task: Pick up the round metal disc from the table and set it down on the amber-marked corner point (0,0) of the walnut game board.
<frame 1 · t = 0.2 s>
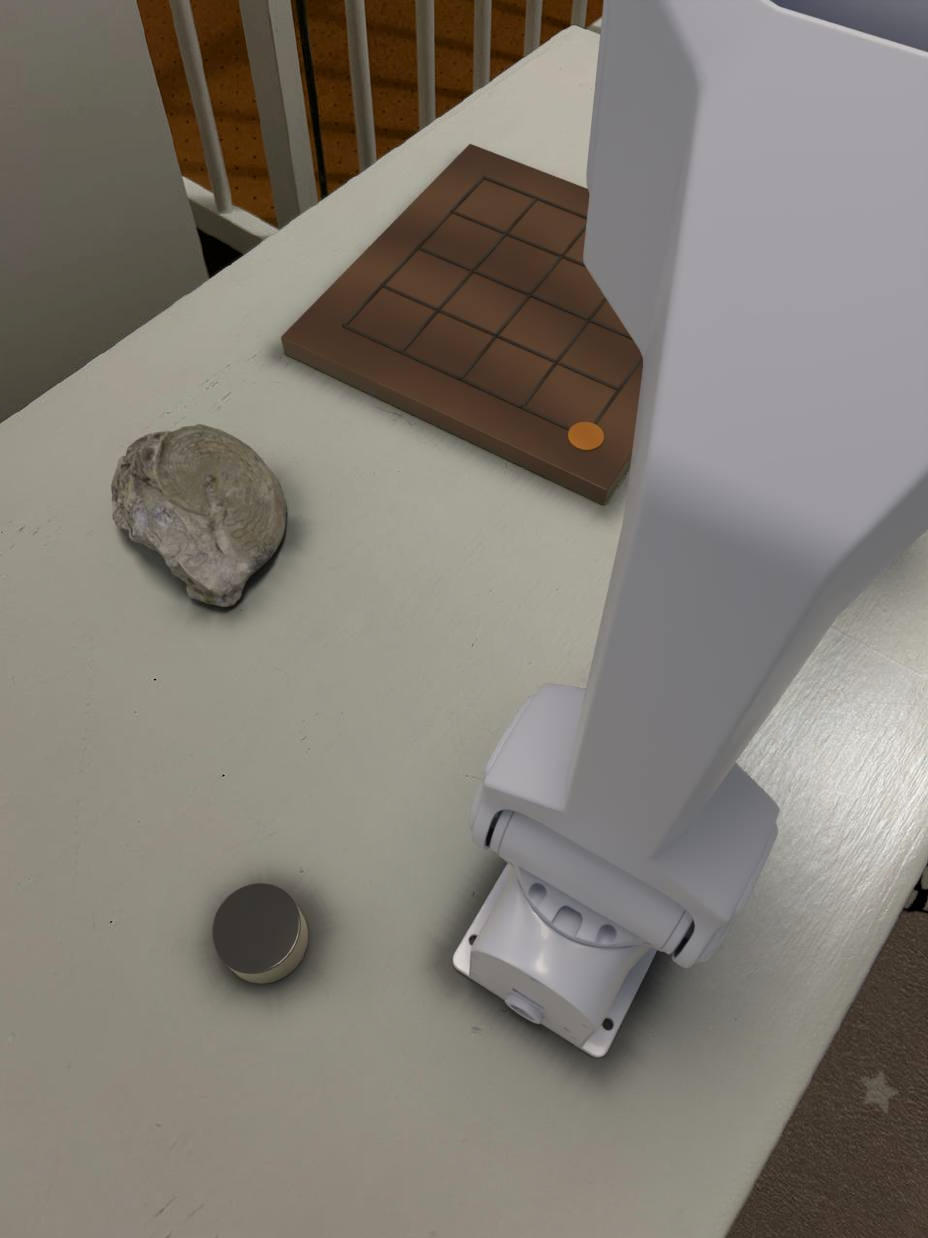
hand: (847, 397, 50), 10 cm above the dresser, tool pointing down, fingers open, 7 cm apart
fossilized seashell: (197, 527, 58), on the dresser
board: (528, 312, 67), on the dresser
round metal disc: (266, 939, 46), on the dresser
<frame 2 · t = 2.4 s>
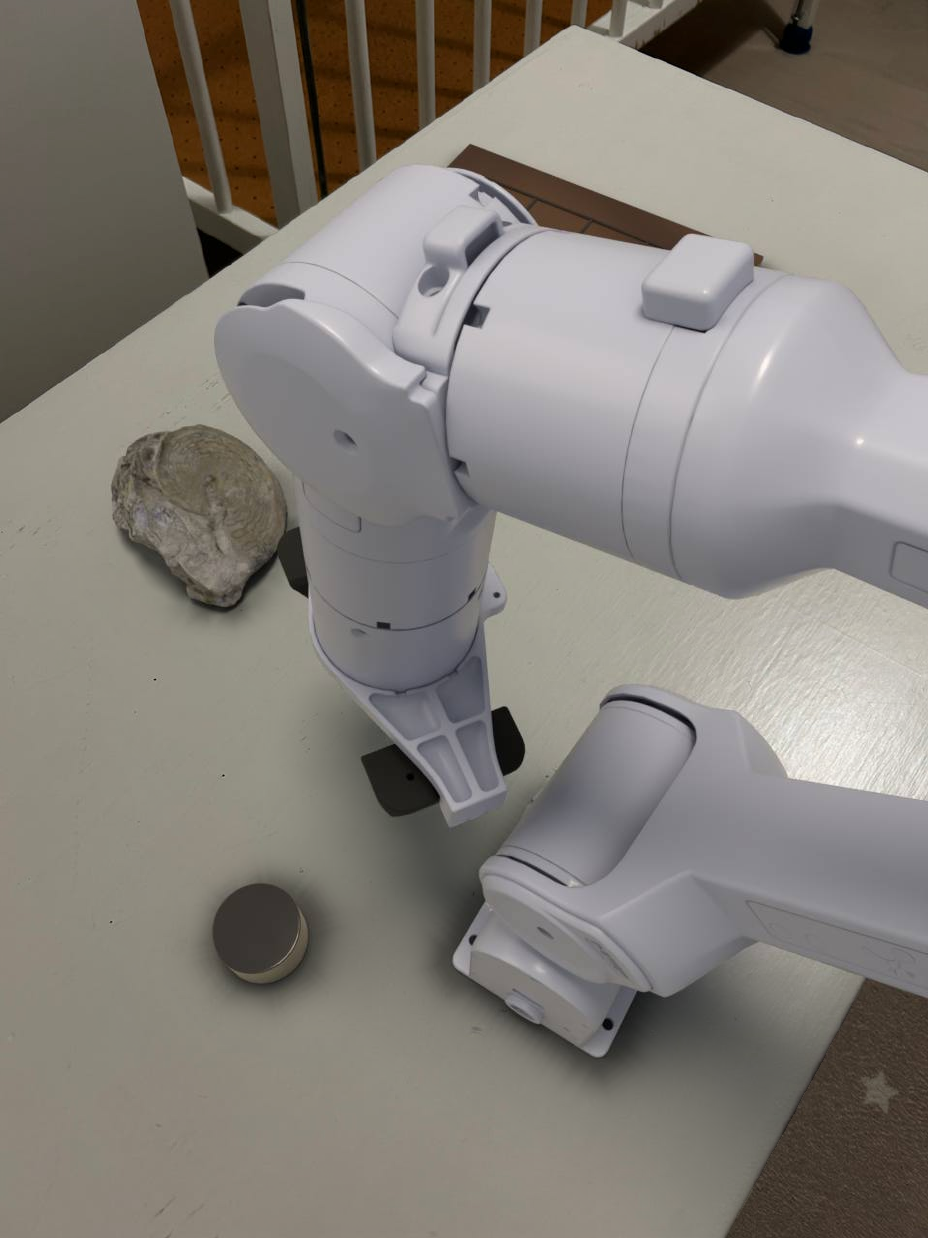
hand: (394, 712, 42), 9 cm above the dresser, tool pointing down, fingers open, 7 cm apart
nothing on the dresser moved.
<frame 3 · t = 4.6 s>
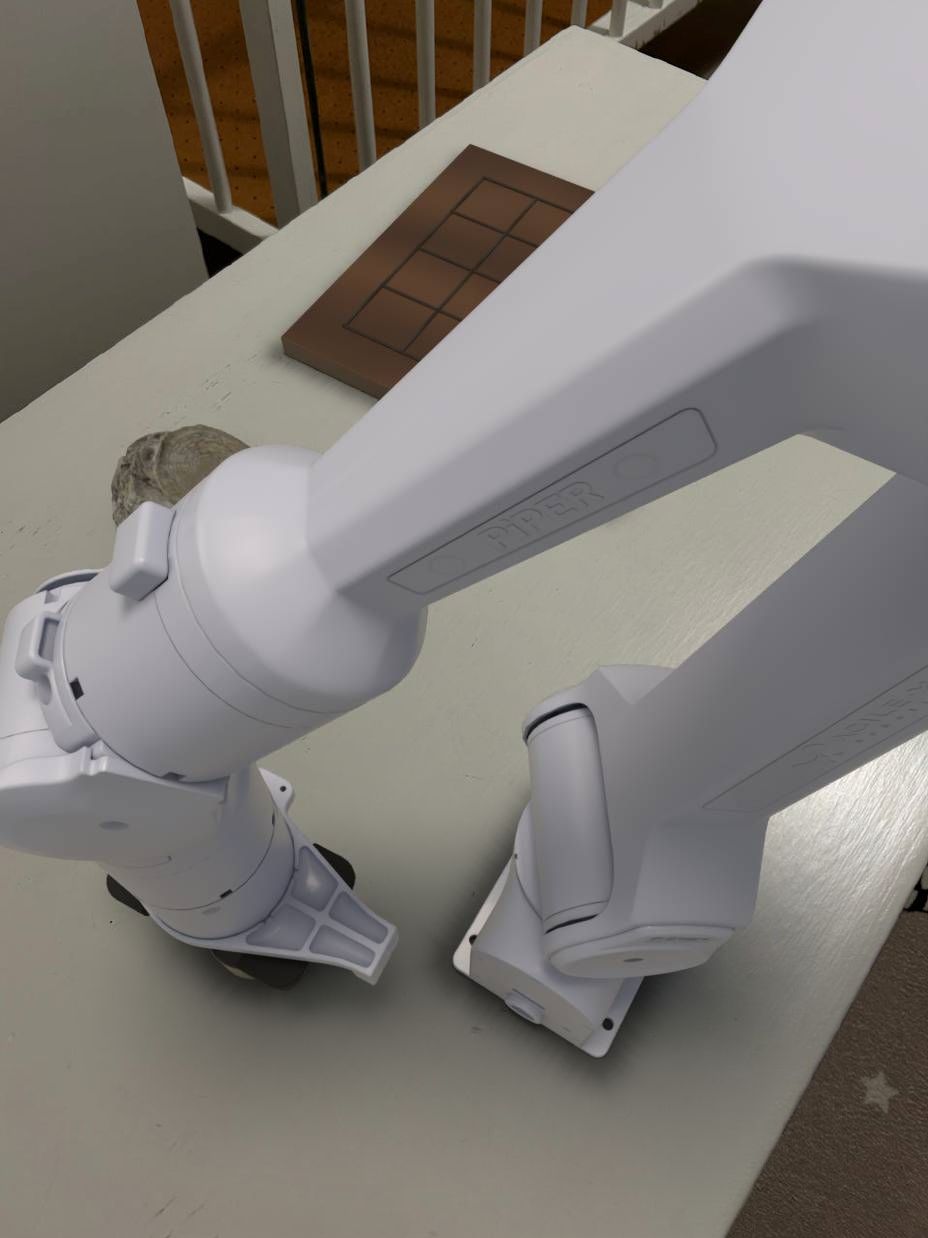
hand: (261, 917, 45), 1 cm above the dresser, tool pointing down, fingers closed on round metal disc, 4 cm apart
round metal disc: (258, 935, 46), on the dresser, touching gripper
everything else where it was.
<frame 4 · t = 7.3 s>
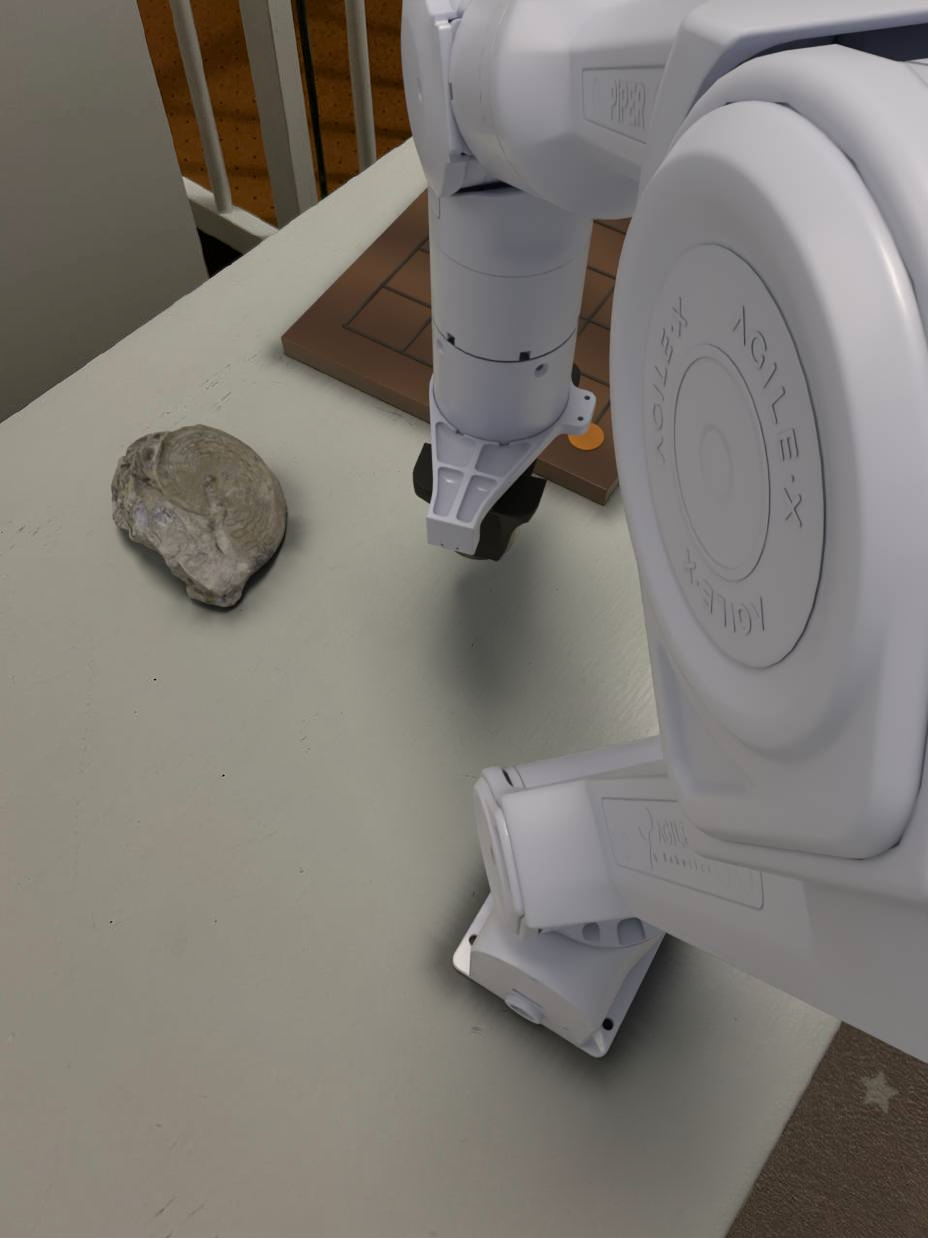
hand: (493, 516, 49), 7 cm above the dresser, tool pointing down, fingers closed on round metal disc, 4 cm apart
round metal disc: (480, 528, 50), point 6 cm above the dresser, touching gripper
everything else where it was.
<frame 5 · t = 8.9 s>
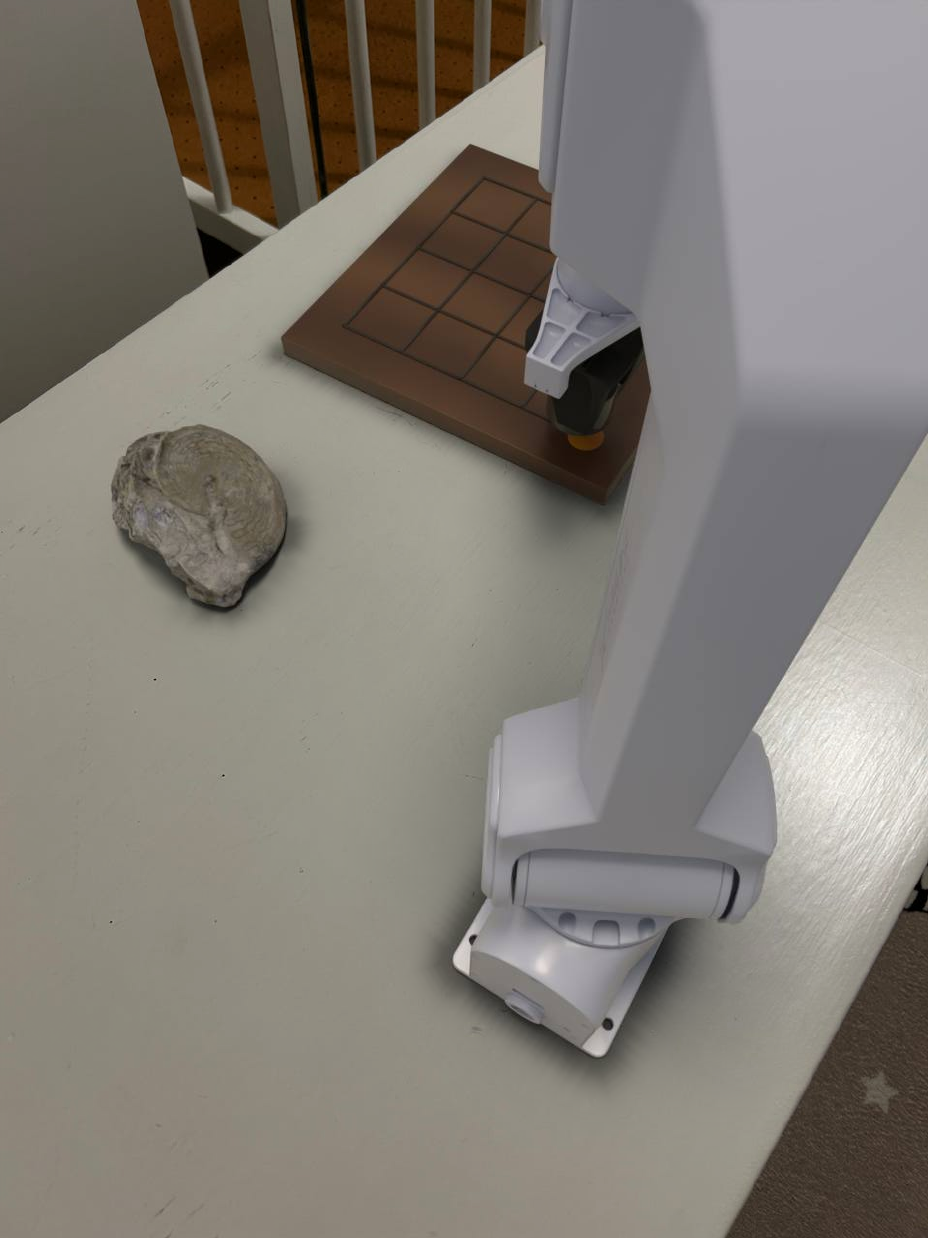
hand: (592, 399, 57), 5 cm above the dresser, tool pointing down, fingers closed on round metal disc, 4 cm apart
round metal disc: (579, 410, 58), point 3 cm above the dresser, touching gripper
everything else where it was.
when the fingers open (3 cm above the dresser, at t = 9.9 s): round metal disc stays where it is, resting on board.
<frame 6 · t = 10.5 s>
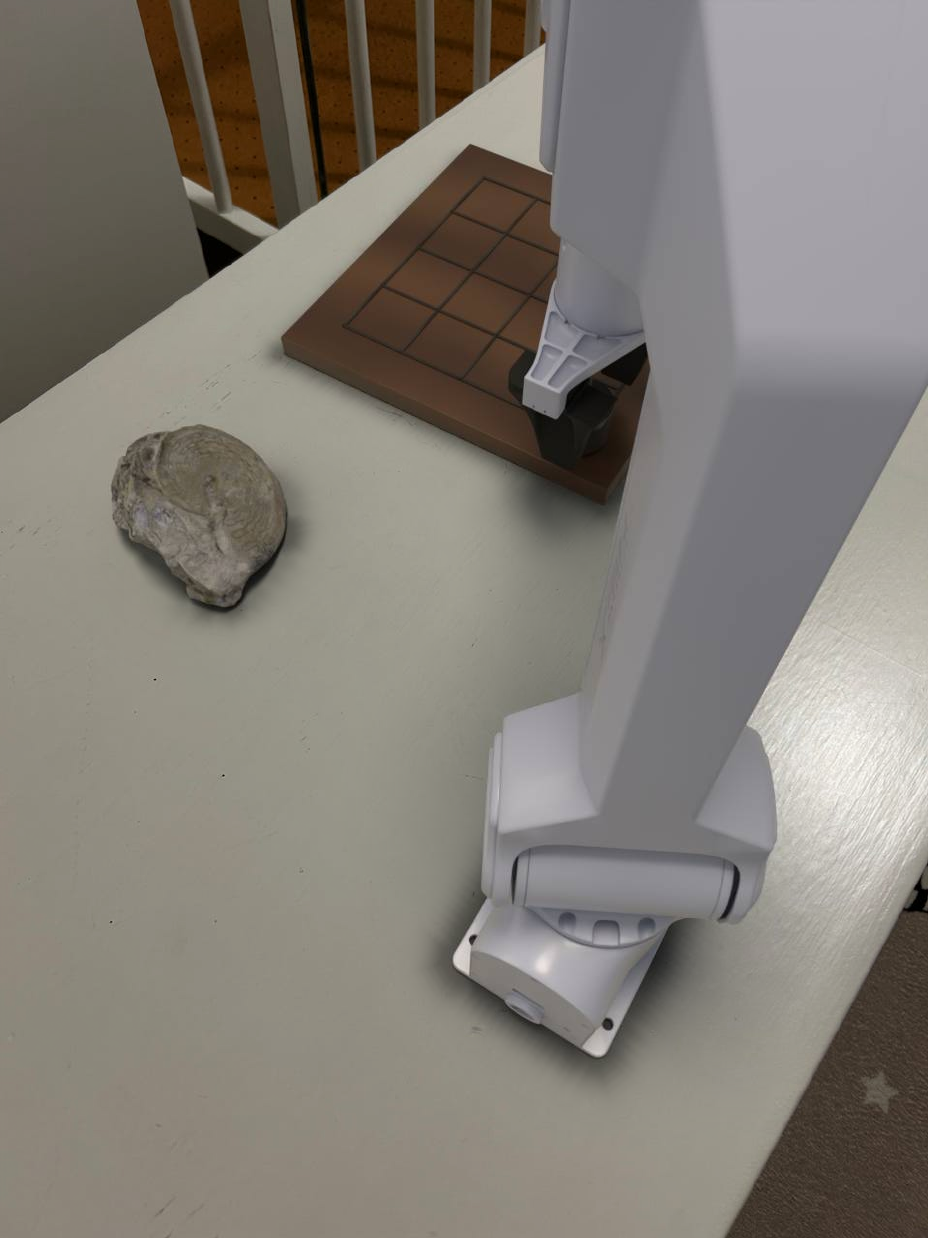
hand: (589, 417, 58), 3 cm above the dresser, tool pointing down, fingers open, 7 cm apart
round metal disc: (576, 430, 60), point 2 cm above the dresser, touching board
everything else where it was.
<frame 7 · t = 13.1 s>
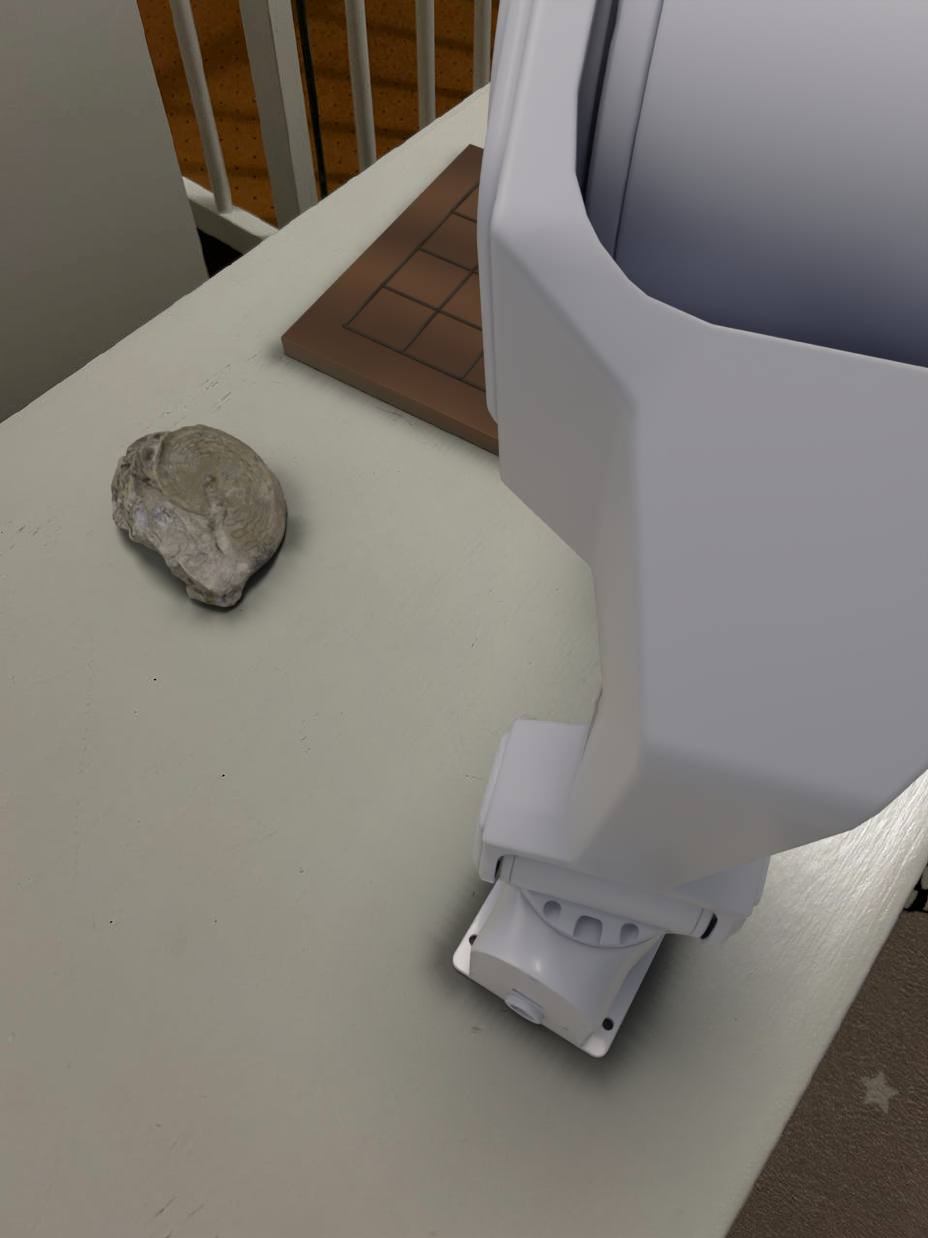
hand: (697, 428, 49), 9 cm above the dresser, tool pointing down, fingers open, 7 cm apart
nothing on the dresser moved.
at the end: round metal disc 0.7 cm from the target spot on the board, point 1.6 cm above the board's base; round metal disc tilted 0°; the gripper is holding nothing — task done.
